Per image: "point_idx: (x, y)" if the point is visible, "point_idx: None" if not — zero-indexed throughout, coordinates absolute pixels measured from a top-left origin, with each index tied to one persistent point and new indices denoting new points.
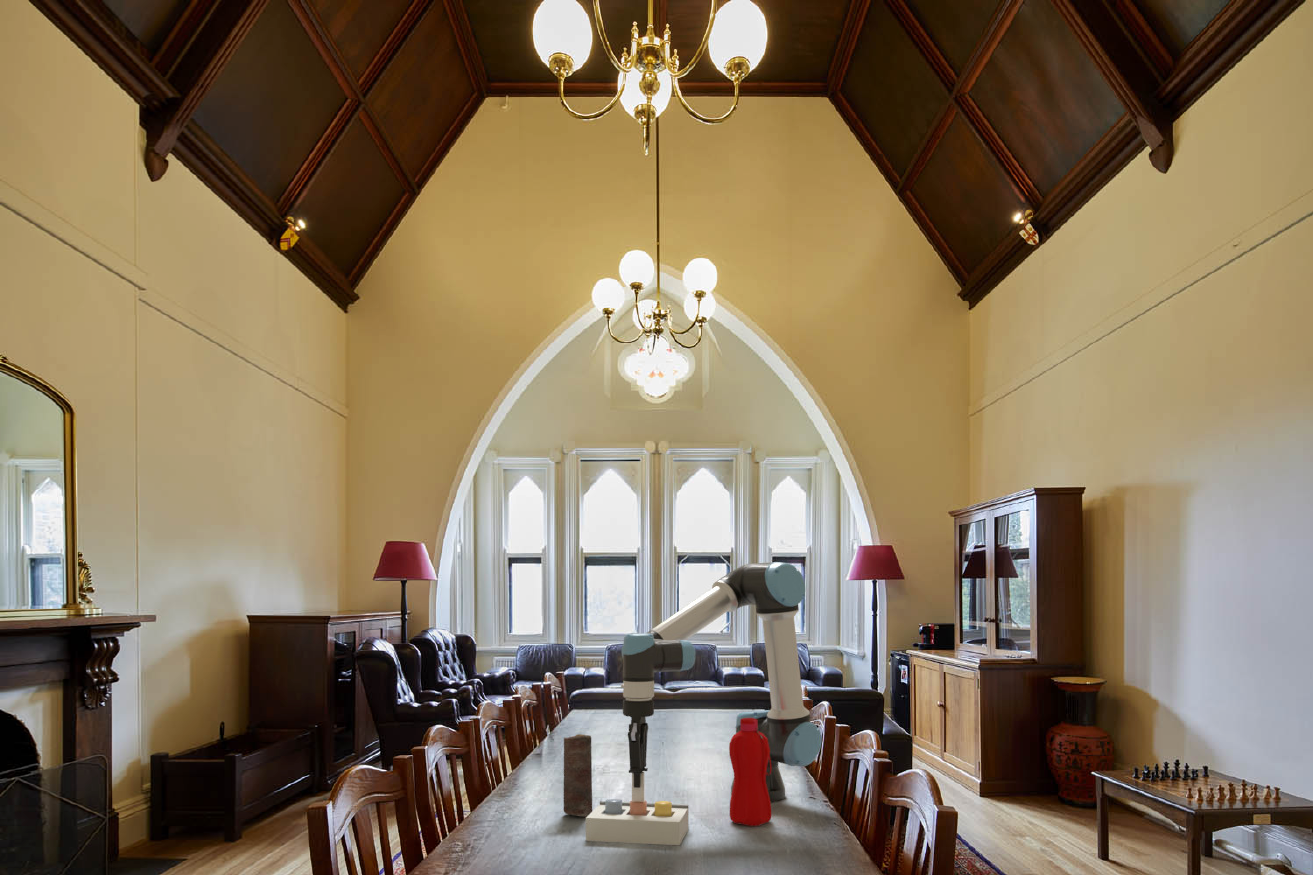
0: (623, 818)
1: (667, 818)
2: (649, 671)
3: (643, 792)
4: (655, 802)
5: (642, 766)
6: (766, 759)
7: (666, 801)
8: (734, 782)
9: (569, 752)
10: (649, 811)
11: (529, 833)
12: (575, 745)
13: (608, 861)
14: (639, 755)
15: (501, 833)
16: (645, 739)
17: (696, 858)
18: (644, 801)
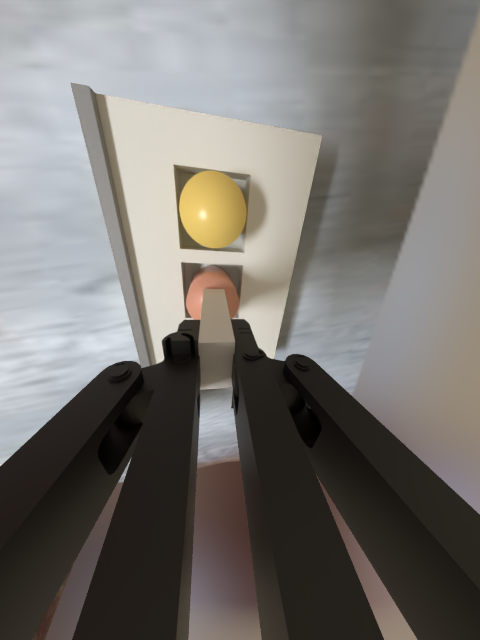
0: (273, 315)
1: (273, 190)
2: None
3: (217, 299)
4: (211, 245)
5: (241, 371)
6: None
7: (185, 199)
8: None
9: (64, 585)
10: (181, 265)
11: (230, 416)
12: (40, 629)
13: (371, 297)
14: (426, 466)
15: (234, 435)
16: None
17: (408, 93)
18: (203, 286)
